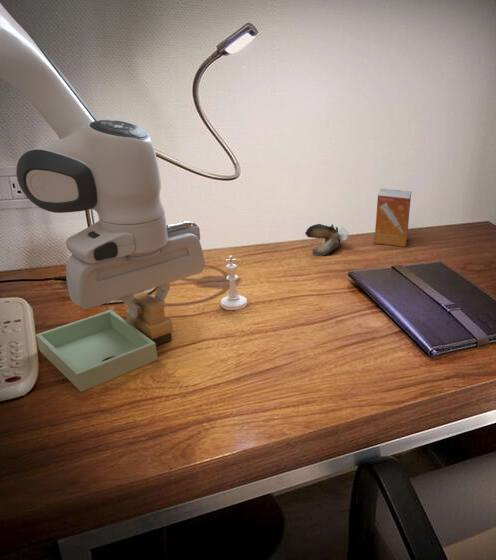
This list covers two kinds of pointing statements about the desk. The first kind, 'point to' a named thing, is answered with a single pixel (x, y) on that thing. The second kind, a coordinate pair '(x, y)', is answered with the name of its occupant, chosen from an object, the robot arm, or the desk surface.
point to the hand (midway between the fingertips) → (147, 311)
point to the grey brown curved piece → (326, 237)
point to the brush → (151, 319)
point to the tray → (96, 349)
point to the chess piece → (233, 289)
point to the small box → (392, 217)
